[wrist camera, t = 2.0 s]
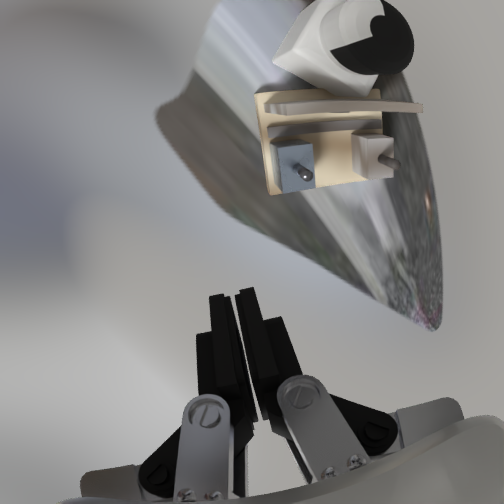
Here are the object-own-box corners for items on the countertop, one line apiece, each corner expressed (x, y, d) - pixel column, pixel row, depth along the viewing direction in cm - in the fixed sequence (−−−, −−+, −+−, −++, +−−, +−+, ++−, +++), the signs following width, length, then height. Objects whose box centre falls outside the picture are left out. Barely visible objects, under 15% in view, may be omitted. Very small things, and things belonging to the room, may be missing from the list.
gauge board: (253, 94, 23) (276, 89, 16) (373, 89, 24) (425, 92, 17) (267, 191, 28) (291, 225, 21) (377, 175, 29) (423, 201, 22)
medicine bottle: (358, 46, 22) (436, 33, 11) (331, 97, 24) (405, 103, 14) (300, 10, 19) (359, -32, 9) (269, 62, 22) (316, 37, 12)
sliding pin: (269, 142, 24) (286, 153, 19) (300, 138, 25) (324, 148, 20) (274, 183, 26) (291, 203, 22) (303, 178, 27) (327, 197, 22)
